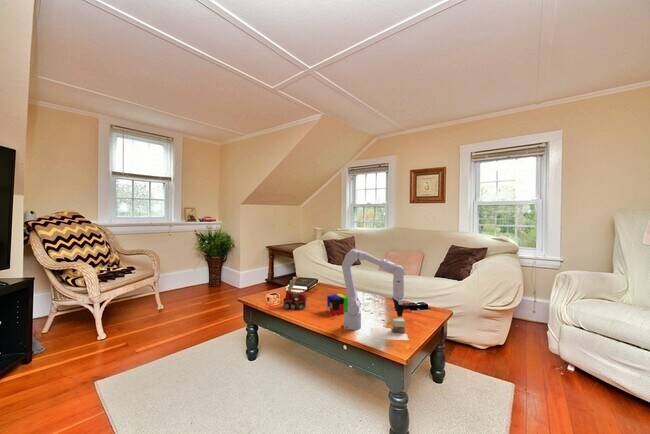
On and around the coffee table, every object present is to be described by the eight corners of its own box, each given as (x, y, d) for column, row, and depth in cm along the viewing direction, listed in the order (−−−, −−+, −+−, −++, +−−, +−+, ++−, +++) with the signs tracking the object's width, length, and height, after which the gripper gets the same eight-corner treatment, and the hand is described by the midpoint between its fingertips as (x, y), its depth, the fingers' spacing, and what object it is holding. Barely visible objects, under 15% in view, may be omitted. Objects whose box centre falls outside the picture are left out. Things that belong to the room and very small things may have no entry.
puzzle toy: (327, 310, 180) (327, 295, 179) (340, 308, 184) (340, 293, 184) (334, 315, 171) (334, 300, 170) (348, 313, 175) (348, 297, 175)
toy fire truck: (305, 310, 181) (305, 283, 181) (282, 309, 183) (282, 283, 183) (308, 304, 193) (308, 279, 192) (286, 303, 195) (286, 279, 194)
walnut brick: (393, 332, 144) (393, 326, 144) (392, 328, 148) (392, 323, 148) (404, 332, 143) (404, 326, 143) (403, 329, 147) (403, 323, 147)
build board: (372, 340, 137) (372, 338, 137) (370, 329, 150) (370, 327, 150) (408, 342, 135) (408, 339, 135) (404, 330, 148) (404, 328, 148)
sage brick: (394, 326, 144) (393, 320, 144) (393, 323, 148) (393, 318, 148) (404, 327, 143) (404, 321, 143) (403, 323, 147) (403, 318, 147)
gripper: (408, 292, 138) (408, 319, 138) (403, 284, 152) (403, 309, 152) (394, 292, 138) (394, 318, 139) (390, 284, 153) (391, 308, 153)
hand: (398, 313), depth 145 cm, fingers open, 7 cm apart
